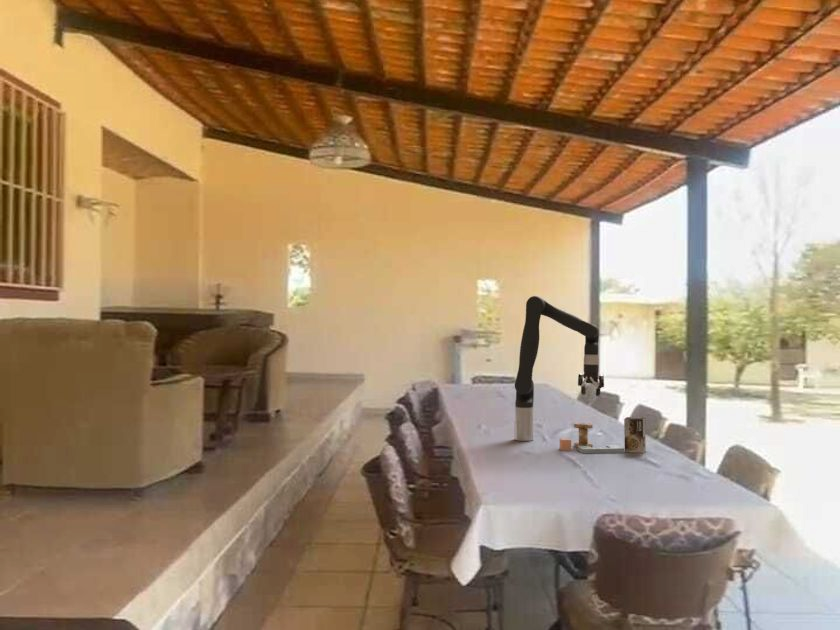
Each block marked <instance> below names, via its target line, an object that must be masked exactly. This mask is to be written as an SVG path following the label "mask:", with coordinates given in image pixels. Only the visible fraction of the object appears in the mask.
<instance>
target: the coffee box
mask: <svg viewBox="0 0 840 630" xmlns="http://www.w3.org/2000/svg"><path fill="white" fill-rule="evenodd" d="M623 421H624V422H623V424H624V425H623V427H624V428H623V429H624V430H623V431H624V453H639V454H640V453H641V454H644V453H645V452H646V447H647V446H646V442H647V441H646V417H636V416H635V417H634V416H630V417H629V416H627V417H625V418H623Z"/></svg>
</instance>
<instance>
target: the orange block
mask: <svg viewBox="0 0 840 630" xmlns="http://www.w3.org/2000/svg"><path fill="white" fill-rule="evenodd" d="M559 450H561V451H571V450H572V439H570V438H559Z"/></svg>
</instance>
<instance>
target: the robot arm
mask: <svg viewBox="0 0 840 630" xmlns="http://www.w3.org/2000/svg"><path fill="white" fill-rule="evenodd" d="M541 315H542V316H544V317H547V318H549V319H552V320H554V321H555V322H557V323H558V324H560V325H561V326H564V327H565V328H568V329H570V330H572V331H574V332H577V333H578V334H581V335H582V336H584V337H585V338H584V339H585V341H584V343H585V344H584V347H583V349H584V352H583V373H578V377H577V386H578V387H579V386H580V387H581V388H580V390H581V391H580V393H581V394H582V395H586V391H587V389H586V386H587V385H588V384H593V386H595V388H596V389H595V396H596V397H599V396H600V395H601V388H604V387H605V377H604V375H599V372H600V371H599V370H600V369H599V368H600V367H599V364H600V363H599V362H600V361H599V360H600V359H599V337H600V331H599V327H598V326H597V325H595V324H593V323H589V322H587V321H585V320H583V319H582V318H580V317H578V316H576V315H574V314H572V313H570V312H567V311H565V310H562V309H561V308H558V307H555V306H553V305H552V304H550V303H549V302H548V301H546V300H545V299H544V298H543V297H541V296H537V295H533V296H530V297H529V298H528V299H527V301H526V305H525V321H524V326H523V331H522V336H521V341H520V347H519V358H518V359H519V360H518V371H517V374H516V378H515V382H514V389H515V403H514V404H515V406H514V407H515V418H514V419H515V420H514V440H516V441H522V442H530V441H533V440H534V400H535V398H534V397H535V396H534V395H535V388H534V387H535V385H534V381H533V370H534V366H535V364H536V363H535V362H536V361H537V360H536V359H537V357H538V351H539V347H540V346H539V345H540V322H541V321H540V320H541V317H542V316H541Z"/></svg>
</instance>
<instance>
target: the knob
mask: <svg viewBox="0 0 840 630" xmlns="http://www.w3.org/2000/svg"><path fill="white" fill-rule="evenodd" d="M573 428H574V429H578V441H576V442H573V447H574V448H577V446H590V447H592V448H594V447H593V442H588V441H589V440H588V439H589V431H588V429H593V423H586V422H585V423H584V422H580V423H579V422H577V423H573Z"/></svg>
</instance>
